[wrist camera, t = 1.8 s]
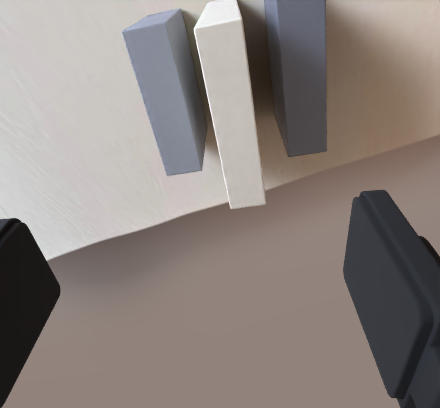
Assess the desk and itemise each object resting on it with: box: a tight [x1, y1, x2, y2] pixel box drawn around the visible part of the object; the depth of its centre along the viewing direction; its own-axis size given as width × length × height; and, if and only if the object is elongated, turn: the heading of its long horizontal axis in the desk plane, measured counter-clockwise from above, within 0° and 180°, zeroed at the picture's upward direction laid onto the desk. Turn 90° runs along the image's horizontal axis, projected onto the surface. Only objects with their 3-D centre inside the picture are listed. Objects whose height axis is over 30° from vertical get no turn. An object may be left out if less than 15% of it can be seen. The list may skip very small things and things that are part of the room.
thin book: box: [194, 0, 266, 209], centre depth 25 cm, size 2×11×15 cm, turn 11°
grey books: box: [122, 0, 327, 176], centre depth 28 cm, size 13×11×9 cm
